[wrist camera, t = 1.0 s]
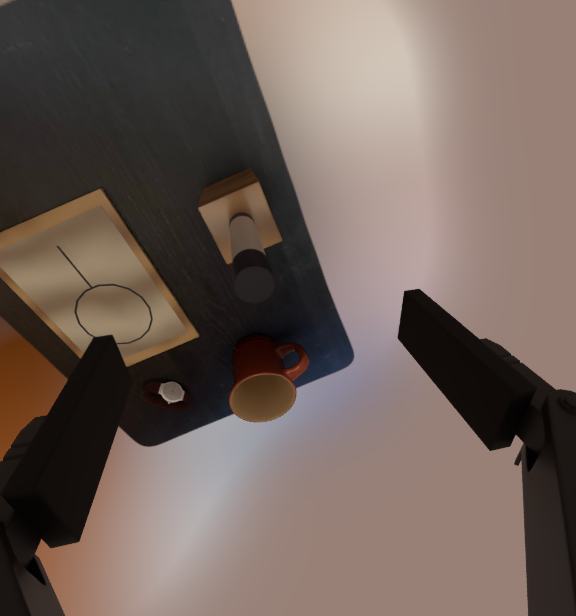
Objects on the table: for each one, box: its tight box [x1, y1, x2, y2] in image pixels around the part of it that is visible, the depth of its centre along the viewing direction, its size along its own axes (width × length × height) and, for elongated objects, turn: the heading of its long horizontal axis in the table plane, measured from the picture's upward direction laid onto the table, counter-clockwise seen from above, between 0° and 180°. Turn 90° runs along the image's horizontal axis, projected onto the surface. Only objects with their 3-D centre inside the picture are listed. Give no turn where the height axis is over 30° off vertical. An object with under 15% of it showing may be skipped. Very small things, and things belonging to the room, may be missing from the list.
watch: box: [141, 382, 191, 411], centre depth 49 cm, size 8×5×4 cm, turn 54°
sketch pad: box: [0, 188, 200, 367], centre depth 41 cm, size 22×16×1 cm
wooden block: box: [198, 168, 282, 264], centre depth 34 cm, size 6×6×10 cm
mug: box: [229, 335, 309, 422], centre depth 45 cm, size 12×9×10 cm
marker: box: [229, 213, 275, 303], centre depth 24 cm, size 2×2×13 cm
